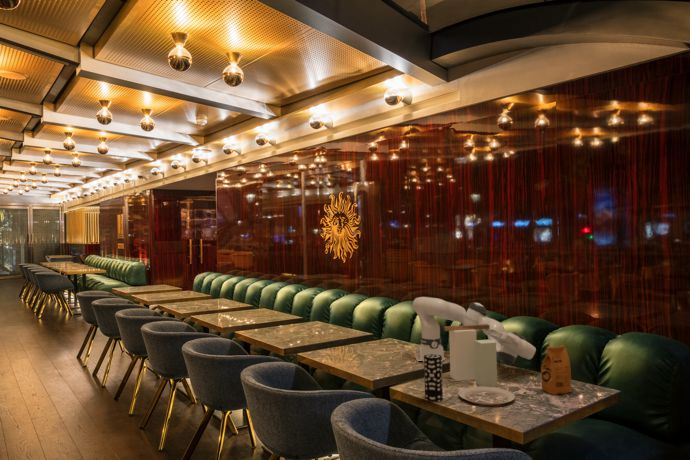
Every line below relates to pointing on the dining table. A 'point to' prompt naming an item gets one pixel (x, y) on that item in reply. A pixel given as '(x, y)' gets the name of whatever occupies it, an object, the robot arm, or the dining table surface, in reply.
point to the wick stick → (466, 327)
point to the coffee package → (556, 371)
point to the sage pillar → (485, 363)
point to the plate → (469, 390)
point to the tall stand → (462, 354)
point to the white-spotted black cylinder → (433, 377)
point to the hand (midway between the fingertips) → (488, 329)
